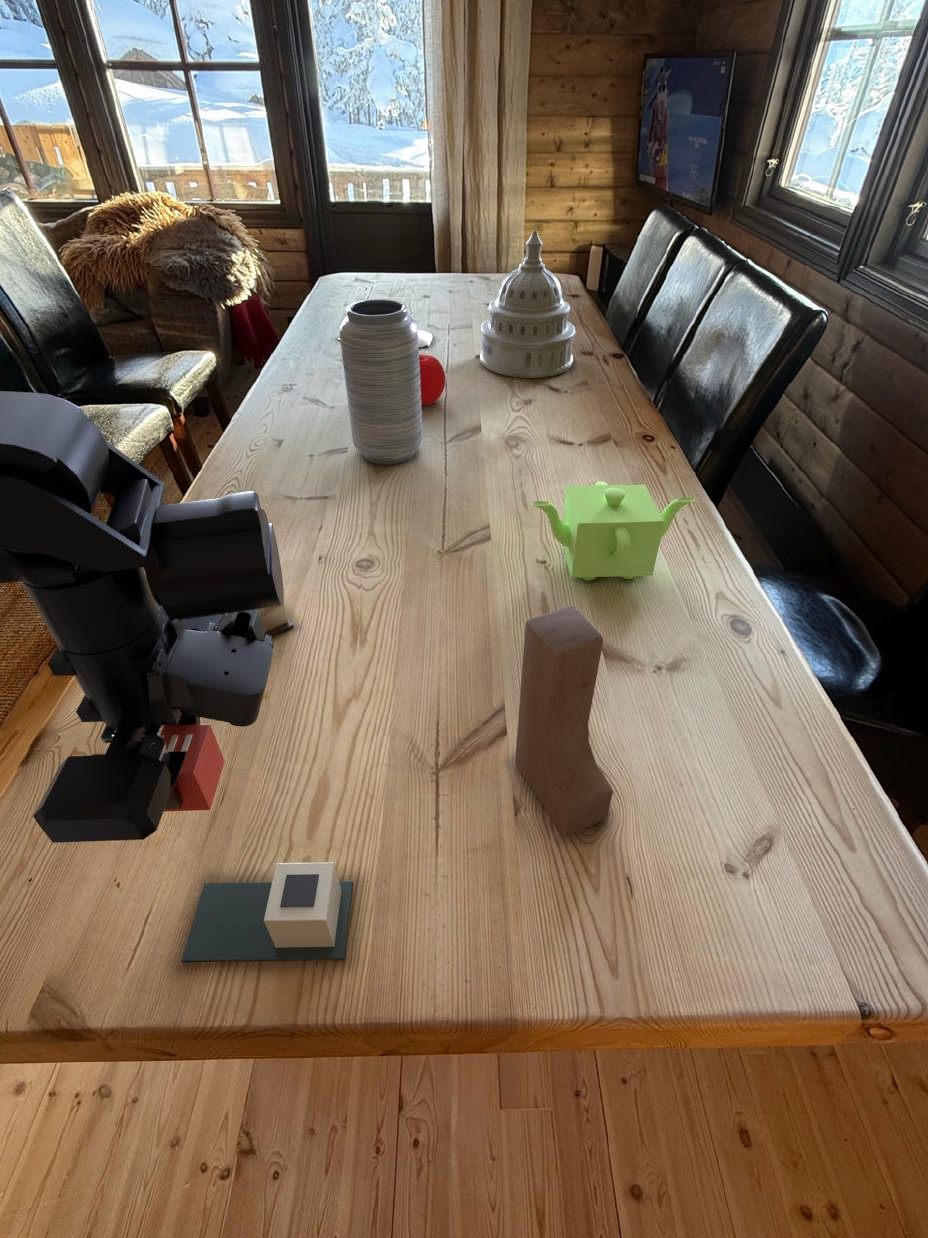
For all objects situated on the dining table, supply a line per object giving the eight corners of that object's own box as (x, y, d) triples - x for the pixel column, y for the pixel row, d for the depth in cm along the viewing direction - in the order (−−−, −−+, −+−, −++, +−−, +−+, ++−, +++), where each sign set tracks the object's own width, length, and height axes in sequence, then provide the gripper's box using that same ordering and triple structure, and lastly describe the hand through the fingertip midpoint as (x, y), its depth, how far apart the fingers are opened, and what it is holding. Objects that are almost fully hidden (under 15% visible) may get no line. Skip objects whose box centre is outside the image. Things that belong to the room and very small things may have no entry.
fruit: (410, 389, 131) (407, 337, 125) (452, 396, 129) (451, 343, 122) (390, 407, 125) (385, 353, 118) (433, 414, 122) (432, 360, 116)
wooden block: (608, 820, 58) (643, 676, 46) (564, 840, 56) (589, 697, 44) (553, 746, 64) (573, 602, 52) (513, 762, 62) (523, 618, 51)
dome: (500, 216, 136) (596, 223, 131) (496, 341, 153) (582, 351, 147) (465, 236, 122) (572, 244, 117) (466, 371, 138) (559, 384, 133)
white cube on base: (182, 963, 49) (162, 933, 46) (205, 885, 53) (188, 853, 50) (344, 960, 49) (335, 931, 46) (353, 883, 53) (346, 851, 50)
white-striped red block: (149, 812, 48) (128, 775, 45) (167, 762, 51) (149, 725, 48) (210, 810, 48) (193, 773, 45) (225, 760, 51) (209, 723, 48)
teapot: (526, 565, 86) (531, 494, 79) (579, 522, 94) (588, 453, 87) (631, 612, 79) (647, 537, 72) (679, 560, 87) (698, 489, 80)
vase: (340, 451, 111) (321, 306, 96) (396, 431, 117) (385, 291, 102) (381, 476, 104) (366, 324, 89) (437, 454, 110) (432, 307, 95)
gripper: (203, 743, 32) (269, 898, 42) (275, 529, 46) (311, 684, 56) (-32, 751, 31) (92, 905, 42) (113, 533, 46) (179, 688, 56)
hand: (184, 779), depth 49 cm, fingers closed on white-striped red block, 4 cm apart
